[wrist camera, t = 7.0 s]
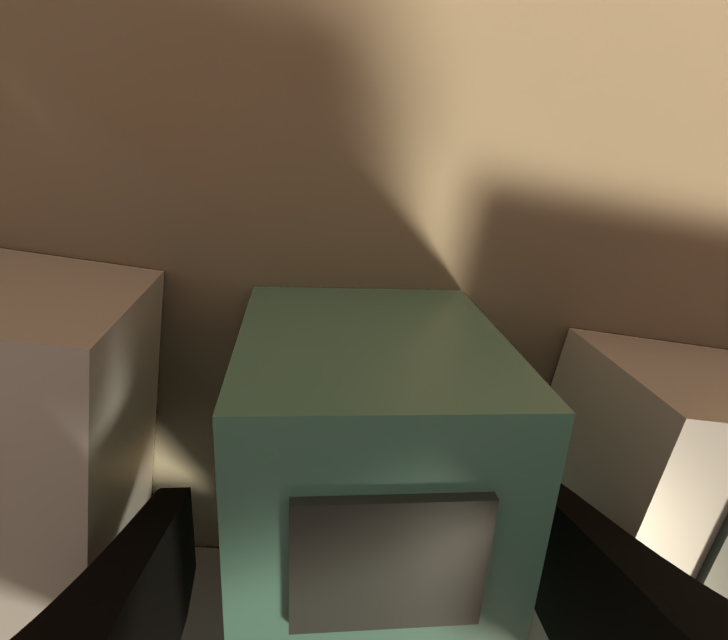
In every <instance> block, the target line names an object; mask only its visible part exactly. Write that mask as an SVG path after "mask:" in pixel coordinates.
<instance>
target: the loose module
mask: <svg viewBox="0 0 728 640" xmlns="http://www.w3.org/2000/svg"><path fill="white" fill-rule="evenodd" d="M574 418H575V413H574V412H573V410H572V409H571V408H570V407H569V406H568V405H567V404H566V403H565V402H564V401H563V400H562V399H561V397H560V396H559V395H558V394H557V393H556V392H555V391H554V390H553V389H552V388H551V387H550V386H549V384H548V383H547V382H546V381H545V380H544V379H543V378H542V377H541V376H540V375H539V374H538V373H537V371H536V370H535V369H534V368H533V367H532V366H531V365H530V364H529V363H528V362H527V361H526V360H525V358H524V357H523V356H522V355H521V354H520V353H519V352H518V351H517V350H516V349H515V348H514V347H513V345H512V344H511V343H510V342H509V341H508V340H507V339H506V338H505V337H504V336H503V335H502V334H501V332H500V331H499V330H498V329H497V328H496V327H495V326H494V325H493V324H492V323H491V322H490V321H489V319H488V318H487V317H486V316H485V315H484V314H483V313H482V312H481V311H480V310H479V309H478V308H477V307H476V305H475V304H474V303H473V302H472V301H471V300H470V299H469V298H468V297H467V296H466V295H465V294H464V292H463V291H462V290H430V289H374V288H319V287H263V286H253V289H252V293H251V296H250V299H249V302H248V305H247V308H246V312H245V315H244V318H243V321H242V324H241V327H240V331H239V334H238V337H237V340H236V343H235V346H234V350H233V353H232V356H231V359H230V362H229V365H228V369H227V372H226V375H225V378H224V381H223V384H222V388H221V391H220V394H219V397H218V400H217V403H216V407H215V410H214V413H213V416H212V422H213V440H214V459H215V477H216V495H217V513H218V532H219V550H220V568H221V586H222V605H223V623H224V640H528V636H529V631H530V626H531V621H532V617H533V612H534V607H535V603H536V598H537V593H538V588H539V584H540V579H541V574H542V569H543V565H544V560H545V555H546V551H547V546H548V541H549V536H550V532H551V527H552V522H553V517H554V513H555V508H556V503H557V499H558V494H559V489H560V484H561V480H562V475H563V470H564V465H565V461H566V456H567V451H568V447H569V442H570V437H571V432H572V428H573V423H574Z"/></svg>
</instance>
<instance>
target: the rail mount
mask: <svg viewBox="0 0 728 640" xmlns="http://www.w3.org/2000/svg"><path fill="white" fill-rule="evenodd" d="M163 285H164V271H160V270H153V269H146V268H139V267H132V266H124V265H117V264H110V263H103V262H96V261H89V260H81V259H74V258H67V257H60V256H53V255H46V254H39V253H31V252H24V251H17V250H10V249H3V248H0V640H10V639H11V638H12V637H13V636H14V635H16V634H17V633H18V632H19V631H20V630H21V629H22V628H24V627H25V626H26V625H27V624H28V623H29V622H30V621H32V620H33V619H34V618H35V617H36V616H37V615H38V614H39V613H40V612H42V611H43V610H44V609H45V608H46V607H47V606H48V605H49V604H50V603H51V602H52V601H53V600H54V599H55V598H56V597H57V596H58V595H59V594H60V593H62V592H63V591H64V590H65V589H66V588H67V587H68V586H69V585H70V584H71V583H72V582H73V581H74V580H75V579H76V578H77V577H78V576H79V575H80V574H81V573H82V572H83V571H84V570H85V569H86V568H87V567H88V566H89V565H90V564H91V563H92V562H93V561H94V560H95V559H96V558H97V556H98V555H99V554H100V553H101V552H102V551H103V550H104V549H105V548H106V547H107V546H108V545H109V544H110V543H111V542H112V540H113V539H114V538H115V537H116V536H117V535H118V534H119V533H120V532H121V531H122V529H123V528H124V527H125V526H126V525H127V524H128V523H129V522H130V521H131V519H132V518H133V517H134V516H135V515H136V514H137V513H138V511H139V510H140V509H141V508H142V507H143V506H144V504H145V503H146V502H147V501H148V500H149V499H150V498H151V496H152V479H153V461H154V443H155V426H156V408H157V390H158V373H159V355H160V338H161V320H162V302H163ZM550 387H551V388H552V389H553V390H554V391H555V392H556V393H557V394H558V395H559V396H560V397H561V399H562V400H563V401H564V402H565V403H566V404H567V405H568V406H569V407H570V408H571V409H572V410H573V412H574V413H575V418H574V423H573V428H572V432H571V437H570V442H569V447H568V451H567V456H566V461H565V465H564V470H563V475H562V480H561V483H562V484H563V485H565V486H566V487H567V488H569V489H570V490H571V491H573V492H574V493H576V494H577V495H578V496H580V497H581V498H582V499H584V500H585V501H586V502H588V503H589V504H590V505H592V506H593V507H594V508H596V509H597V510H598V511H600V512H601V513H602V514H604V515H605V516H606V517H607V518H609V519H610V520H612V521H613V522H614V523H616V524H617V525H618V526H620V527H621V528H622V529H624V530H625V531H626V532H628V533H629V534H630V535H632V536H633V537H635V538H636V539H637V540H639V541H640V542H642V543H643V544H644V545H646V546H647V547H649V548H650V549H651V550H653V551H654V552H656V553H657V554H659V555H660V556H661V557H663V558H664V559H666V560H667V561H669V562H670V563H672V564H673V565H675V566H676V567H678V568H679V569H681V570H682V571H684V572H685V573H687V574H688V575H690V576H691V577H693V578H694V579H696V580H698V581H699V582H701V583H702V584H704V585H706V586H707V587H709V588H710V589H712V590H714V591H715V592H717V593H719V594H720V595H722V596H724V597H726V598H727V599H728V350H725V349H718V348H711V347H704V346H697V345H690V344H682V343H675V342H668V341H661V340H654V339H647V338H640V337H632V336H625V335H618V334H611V333H604V332H597V331H589V330H582V329H575V328H569V331H568V334H567V337H566V340H565V343H564V346H563V349H562V352H561V355H560V358H559V361H558V365H557V368H556V371H555V374H554V377H553V380H552V383H551V386H550ZM195 555H196V571H195V577H194V583H193V588H192V594H191V600H190V605H189V610H188V616H187V620H186V623H185V627H184V630H183V634H182V637H181V640H224V623H223V605H222V586H221V568H220V550H219V548H206V547H195ZM528 640H549V639H548V637H547V635H546V633H545V631H544V628H543V626H542V624H541V622H540V620H539V618H538V616H537V614H536V612H535V609H534V612H533V617H532V621H531V626H530V631H529V636H528Z"/></svg>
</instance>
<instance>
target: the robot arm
mask: <svg viewBox="0 0 728 640" xmlns="http://www.w3.org/2000/svg"><path fill="white" fill-rule="evenodd" d="M195 571H196V555H195V542H194V529H193V516H192V502H191V489H190V487H189V488H159V489H158V490H157V491H156V492H155V493H154V494H153V495H152V496H151V498H150V499H149V500H148V501H147V502H146V503H145V504H144V506H143V507H142V508H141V509H140V510H139V511H138V513H137V514H136V515H135V516H134V517H133V518H132V519H131V521H130V522H129V523H128V524H127V525H126V526H125V527H124V528H123V529H122V531H121V532H120V533H119V534H118V535H117V536H116V537H115V538H114V539H113V540H112V542H111V543H110V544H109V545H108V546H107V547H106V548H105V549H104V550H103V551H102V552H101V553H100V554H99V555H98V556H97V558H96V559H95V560H94V561H93V562H92V563H91V564H90V565H89V566H88V567H87V568H86V569H85V570H84V571H83V572H82V573H81V574H80V575H79V576H78V577H77V578H76V579H75V580H74V581H73V582H72V583H71V584H70V585H69V586H68V587H67V588H66V589H65V590H64V591H63V592H62V593H60V594H59V595H58V596H57V597H56V598H55V599H54V600H53V601H52V602H51V603H50V604H49V605H48V606H47V607H46V608H45V609H44V610H43V611H42V612H40V613H39V614H38V615H37V616H36V617H35V618H34V619H33V620H32V621H30V622H29V623H28V624H27V625H26V626H25V627H24V628H22V629H21V630H20V631H19V632H18V633H17V634H16V635H14V636H13V637H12V638H11V639H10V640H181V637H182V634H183V630H184V627H185V623H186V620H187V616H188V610H189V605H190V600H191V594H192V588H193V583H194V577H195ZM534 609H535V612H536V614H537V616H538V618H539V620H540V622H541V624H542V626H543V628H544V631H545V633H546V635H547V637H548V639H549V640H728V599H727V598H726V597H724V596H722V595H720V594H719V593H717V592H715V591H714V590H712V589H710V588H709V587H707V586H706V585H704V584H702V583H701V582H699V581H698V580H696V579H694V578H693V577H691V576H690V575H688V574H687V573H685V572H684V571H682V570H681V569H679V568H678V567H676V566H675V565H673V564H672V563H670V562H669V561H667V560H666V559H664V558H663V557H661V556H660V555H659V554H657V553H656V552H654V551H653V550H651V549H650V548H649V547H647V546H646V545H644V544H643V543H642V542H640V541H639V540H637V539H636V538H635V537H633V536H632V535H630V534H629V533H628V532H626V531H625V530H624V529H622V528H621V527H620V526H618V525H617V524H616V523H614V522H613V521H612V520H610V519H609V518H607V517H606V516H605V515H604V514H602V513H601V512H600V511H598V510H597V509H596V508H594V507H593V506H592V505H590V504H589V503H588V502H586V501H585V500H584V499H582V498H581V497H580V496H578V495H577V494H576V493H574V492H573V491H571V490H570V489H569V488H567V487H566V486H565V485H563V484H562V483H561V484H560V489H559V494H558V499H557V503H556V508H555V513H554V517H553V522H552V527H551V532H550V536H549V541H548V546H547V551H546V555H545V560H544V565H543V569H542V574H541V579H540V584H539V588H538V593H537V598H536V603H535V607H534Z"/></svg>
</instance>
